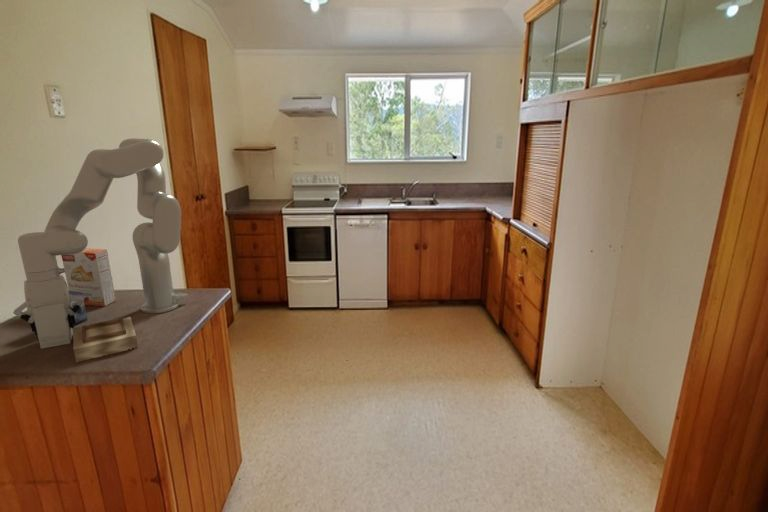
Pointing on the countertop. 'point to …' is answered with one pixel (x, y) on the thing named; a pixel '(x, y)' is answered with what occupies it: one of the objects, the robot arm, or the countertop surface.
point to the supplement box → (52, 325)
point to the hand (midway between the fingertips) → (55, 329)
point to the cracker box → (90, 276)
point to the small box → (81, 312)
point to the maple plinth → (104, 338)
